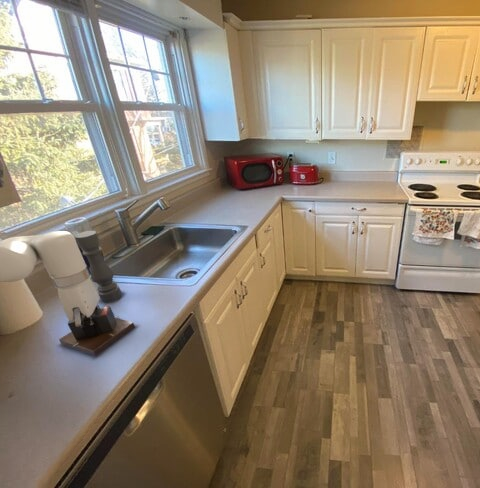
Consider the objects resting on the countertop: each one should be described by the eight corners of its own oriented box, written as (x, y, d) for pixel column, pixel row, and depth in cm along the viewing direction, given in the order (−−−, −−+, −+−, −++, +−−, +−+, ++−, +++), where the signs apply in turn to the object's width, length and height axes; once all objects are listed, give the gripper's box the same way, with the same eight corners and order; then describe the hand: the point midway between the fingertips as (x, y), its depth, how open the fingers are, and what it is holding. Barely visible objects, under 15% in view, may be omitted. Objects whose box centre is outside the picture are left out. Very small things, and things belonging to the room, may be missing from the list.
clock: (75, 340, 79) (66, 323, 77) (81, 329, 83) (72, 313, 80) (113, 331, 82) (105, 314, 80) (116, 321, 86) (109, 305, 83)
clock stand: (59, 346, 80) (55, 340, 79) (104, 316, 91) (102, 311, 90) (93, 358, 76) (90, 352, 75) (136, 326, 87) (134, 320, 86)
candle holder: (111, 291, 104) (85, 229, 93) (126, 293, 103) (101, 230, 92) (96, 302, 98) (67, 237, 87) (112, 303, 98) (85, 238, 87)
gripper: (66, 265, 80) (89, 315, 88) (39, 297, 66) (70, 353, 74) (97, 259, 83) (117, 308, 91) (78, 290, 69) (104, 345, 77)
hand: (96, 328), depth 82 cm, fingers closed on clock, 4 cm apart
